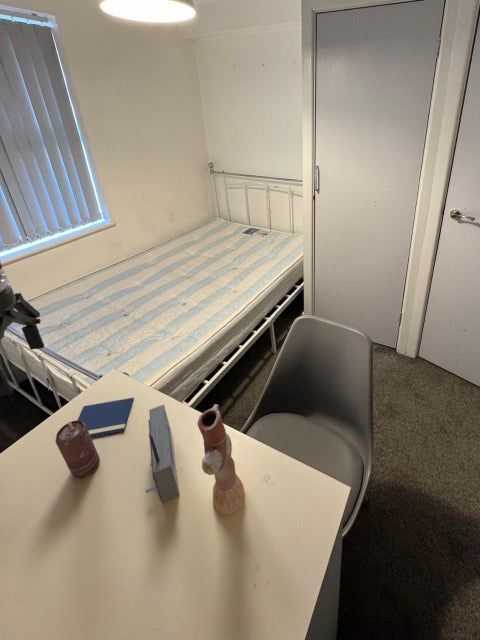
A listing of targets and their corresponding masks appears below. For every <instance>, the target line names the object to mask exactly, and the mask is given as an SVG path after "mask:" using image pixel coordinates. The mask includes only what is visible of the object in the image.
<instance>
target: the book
mask: <svg viewBox="0 0 480 640" xmlns="http://www.w3.org/2000/svg"><path fill="white" fill-rule="evenodd" d="M134 400H135V398H134V397H129V398H123V399H117V400H111V401H106V402H100V403H95V404H88V405H84V406H82V409H81V411H80V413H79V416H78V417H77V421H81V422H83V423H85V425H86V427H87V429H88V432H89V434H90V436H91V439H94V438H95V439H96V438H99V437H105V436H110V435H114V434H120V433H125V430H126V427H127V424H128V419H129V417H130V413H131V409H132V406H133V403H134Z"/></svg>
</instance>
